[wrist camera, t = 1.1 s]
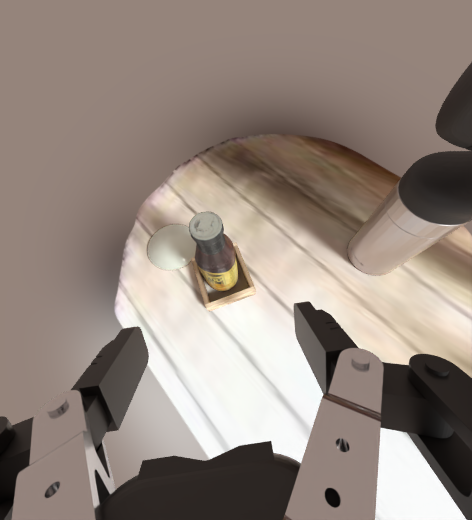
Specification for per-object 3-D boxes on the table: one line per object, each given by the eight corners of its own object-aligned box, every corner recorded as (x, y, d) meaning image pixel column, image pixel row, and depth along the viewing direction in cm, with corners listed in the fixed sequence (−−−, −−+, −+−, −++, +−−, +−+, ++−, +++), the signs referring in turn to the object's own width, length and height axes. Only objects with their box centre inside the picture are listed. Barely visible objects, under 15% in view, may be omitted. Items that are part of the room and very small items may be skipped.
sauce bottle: (201, 280, 44) (163, 226, 26) (222, 258, 46) (200, 192, 28) (225, 300, 42) (202, 257, 24) (246, 277, 44) (240, 219, 25)
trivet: (190, 219, 50) (190, 217, 50) (204, 259, 46) (203, 258, 45) (144, 235, 50) (143, 233, 49) (153, 278, 45) (152, 277, 45)
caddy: (237, 249, 46) (235, 242, 43) (255, 293, 42) (255, 289, 39) (194, 264, 46) (190, 258, 43) (209, 311, 41) (206, 308, 39)
